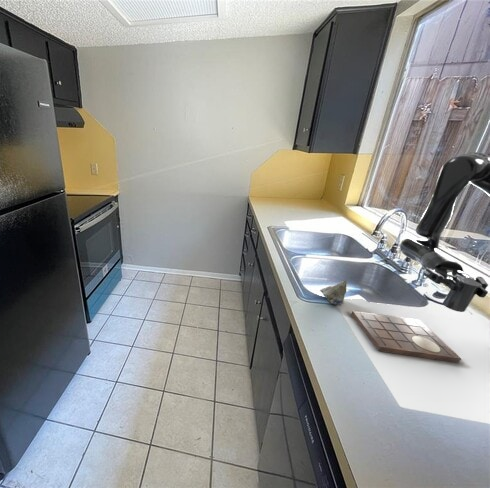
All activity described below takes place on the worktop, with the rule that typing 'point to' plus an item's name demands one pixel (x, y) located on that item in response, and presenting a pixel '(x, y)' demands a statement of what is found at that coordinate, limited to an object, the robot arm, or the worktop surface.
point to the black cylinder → (462, 295)
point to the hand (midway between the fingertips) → (470, 292)
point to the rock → (335, 293)
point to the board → (403, 336)
